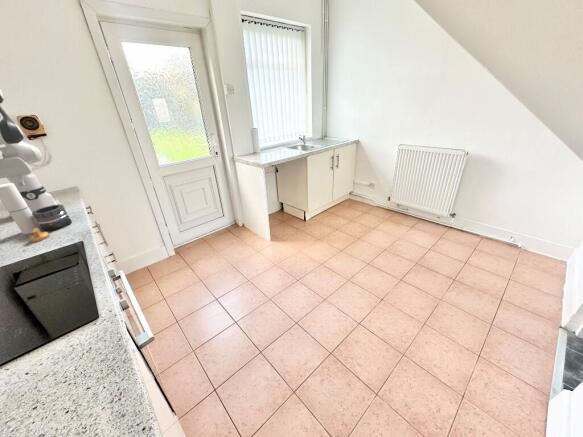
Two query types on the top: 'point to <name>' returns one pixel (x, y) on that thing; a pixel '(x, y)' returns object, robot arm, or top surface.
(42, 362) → the top surface
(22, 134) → the robot arm
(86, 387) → the top surface
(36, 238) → the cap
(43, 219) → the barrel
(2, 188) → the cylindrical container
